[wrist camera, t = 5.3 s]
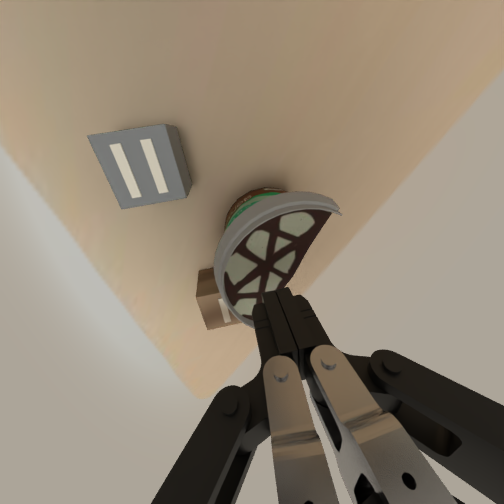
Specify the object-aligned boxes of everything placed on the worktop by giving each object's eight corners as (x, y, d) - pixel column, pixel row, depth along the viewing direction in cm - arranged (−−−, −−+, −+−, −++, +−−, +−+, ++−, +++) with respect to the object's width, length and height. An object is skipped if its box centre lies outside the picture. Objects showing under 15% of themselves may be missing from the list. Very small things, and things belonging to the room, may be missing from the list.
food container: (242, 150, 20) (264, 161, 11) (295, 179, 22) (347, 207, 13) (197, 254, 24) (188, 320, 16) (244, 270, 26) (259, 335, 18)
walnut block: (198, 270, 25) (195, 298, 21) (238, 262, 26) (244, 288, 21) (208, 300, 28) (207, 331, 24) (244, 292, 28) (250, 321, 24)
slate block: (117, 135, 18) (85, 135, 13) (176, 126, 18) (163, 123, 14) (141, 193, 20) (120, 209, 16) (192, 184, 21) (186, 198, 16)
